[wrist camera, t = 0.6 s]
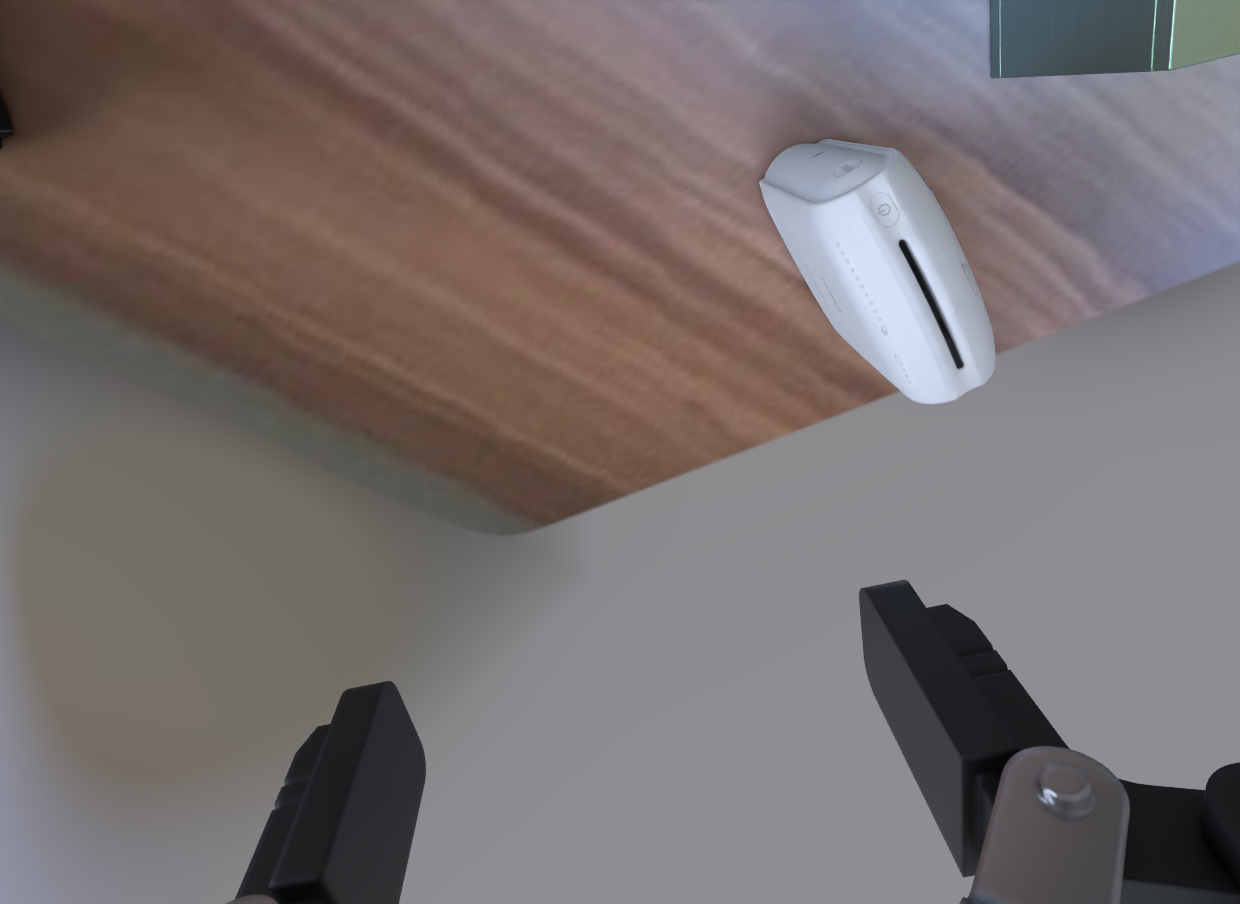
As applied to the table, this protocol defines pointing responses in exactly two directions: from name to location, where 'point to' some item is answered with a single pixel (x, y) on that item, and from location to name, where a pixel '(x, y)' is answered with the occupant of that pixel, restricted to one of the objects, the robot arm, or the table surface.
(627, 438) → the table surface
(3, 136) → the portable radio
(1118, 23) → the box
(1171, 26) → the lid
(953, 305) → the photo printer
